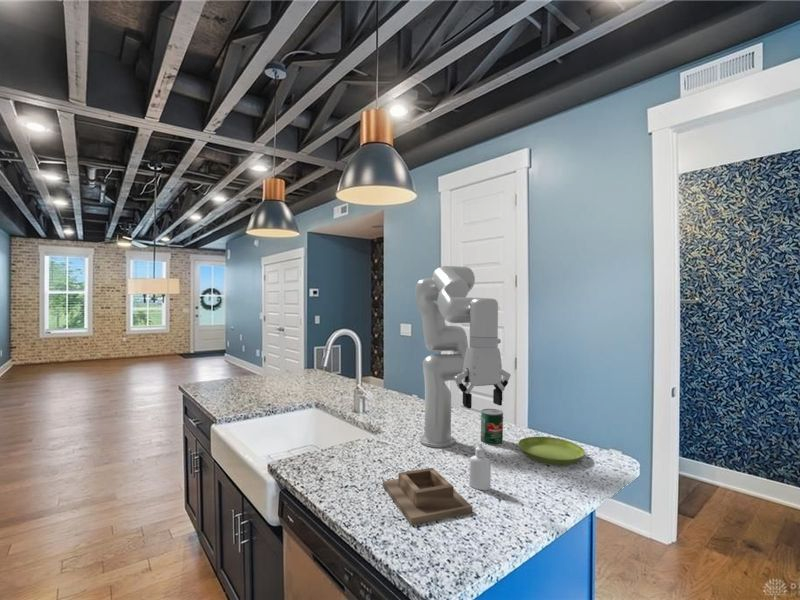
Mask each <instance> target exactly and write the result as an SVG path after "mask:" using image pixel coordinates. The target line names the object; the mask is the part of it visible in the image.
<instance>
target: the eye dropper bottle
mask: <svg viewBox="0 0 800 600" xmlns="http://www.w3.org/2000/svg"><path fill="white" fill-rule="evenodd" d="M482 444H483V443H482V442H479V443H478V446H477V447H475V455H472V456H471V457H469V464H468V465H469V467H468V468H469V469H468V470H469V472H468V473H469V479H468V481H469V483H468V485H469V486H470V487H471V488H473V489H475V490H479V491H485V492H486V491H489V490H490V488H491V474H492V472H491V470H492V467H491V460H490V459H489V458H487V456H485V455H486V454H485V453H486V450H485V448H484V447H483V445H482Z"/></svg>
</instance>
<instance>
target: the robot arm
mask: <svg viewBox="0 0 800 600" xmlns="http://www.w3.org/2000/svg"><path fill="white" fill-rule="evenodd" d="M475 282H476V278H475V274H474V272H473V270H472V269H471V268H470V267H468V266H456V265H455V266H453V265H442V266H440V267H438V268H436V269H434V271H433V273H432V277H428V278H427V277H425V278H422V279H420V280H418V281H417V283H416V284H415V288H414V290H415V292H414V293H415V300H416V304H417V307H418V310H419V312H420V314H421V321H422V322H421V323H422V331H423V333H422V334H423V340H424V342H423V343H424V346H425V348H426V349H427V351H431V352H452V353H449V354H448V353H437V354H430V355H428V356H426V357H425V358H424V359H423V361H422V373H423V379H424V426H423V429H424V434H423V435H421V436H420V438H419V441H420V443H421V444H422V445H424V446H426V447H430V448H431V447H432V448H450V447H452V446H454V445H455V443H456V438H455V437H454V436H452V435H451V434H452V393H451V390H450V387H448V385H446V382H448V381H455V384H456V386H457V388H458V389H459V390H460V391H461V392H462V405H463V407H465V408H466V409H469V410H470V409H472V407H473V406H472V405H473V404H472V397H473V396H472V395H473V394H472V393H471V391H472V390H473V389H474V387H482V386H485V387H486V386H493V387H494V388H493V390H492V391H493V393H492V394H493V395H492V396H493V397H492V398H493V399H492V400H493V404H495V405H496V406H503V392H504V391H505V389H506V386H507V385H508V384H509V380H510V378H511V374H510V373H509V372H507V371H506V370H504V369H503V367H502V366H503V365H502V364H503V363H502V357H501V351H500V348H499V347H498V346H499V345H498V344H501V343H502V340H501V339H500V338H499V336H498V335H499V333H498V332H499V331H498V330H499V303H498V301H497V299H495V298H490V297H487V298H485V297H471V296H470V297H467V296H468V295H469V292H471V290H472V289H473V288H474V285H475ZM435 301H437V303H436V302H435ZM446 322H449V323H452V324H469V343H468V335H467V333H466V331H465V329H464V328H463V327H462V326H459V325H447V324H446Z"/></svg>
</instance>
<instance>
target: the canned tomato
mask: <svg viewBox="0 0 800 600" xmlns="http://www.w3.org/2000/svg"><path fill="white" fill-rule="evenodd" d="M503 429H504V411H503V410H500V409H497V408H484V409H481V410H480V443H482V442H483V443H482V444H484V443H485V444H484V445H487V444H488V446H500V444H501V445H503V443H504V442H503V435H504V431H503Z"/></svg>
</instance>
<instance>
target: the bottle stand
mask: <svg viewBox="0 0 800 600" xmlns="http://www.w3.org/2000/svg"><path fill="white" fill-rule="evenodd" d="M397 477H398V478H396V479H389V480H383V481H382V488H383V489H384V490H385V492H386V493H387V496H389V497H390V498H391V500H392V502H393V503H394V504H395V505H396V507H397V509H399V511H400V513H402V515H403V517H404V518H405V519H406V520H407V522H408V523H409V525H410V526H413V525H418V524H423V523H429V522H432V521H433V522H434V521H438V520H439V521H440V520H443V519H448V518H453V517H458V516H462V515H467V514H472V513H473V505H471V503H470V502H468V500H466V499H465V498H464V497H463V496H462V495H460V494H459V493H458V492H457V491H456V490H455V488H454V486H453V484H451V483H450V481H448V480H447V479H446V478H445V477H443V476H442V475H441V474H440V473H439V472H438V471H437V470H436V469H435V468H433V467H428V468H421V469H415V470H409V471H408V470H407V471H402V472H398V476H397Z"/></svg>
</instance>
